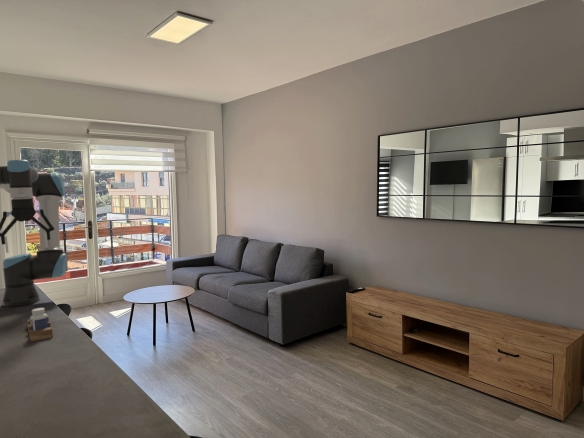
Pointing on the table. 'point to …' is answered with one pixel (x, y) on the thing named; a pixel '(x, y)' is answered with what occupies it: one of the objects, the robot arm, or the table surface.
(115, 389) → the table surface
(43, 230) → the robot arm
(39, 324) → the pill bottle
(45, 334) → the brown wooden rack
